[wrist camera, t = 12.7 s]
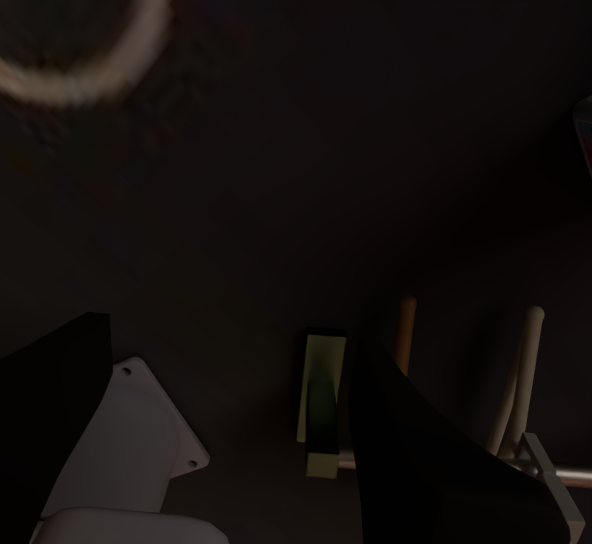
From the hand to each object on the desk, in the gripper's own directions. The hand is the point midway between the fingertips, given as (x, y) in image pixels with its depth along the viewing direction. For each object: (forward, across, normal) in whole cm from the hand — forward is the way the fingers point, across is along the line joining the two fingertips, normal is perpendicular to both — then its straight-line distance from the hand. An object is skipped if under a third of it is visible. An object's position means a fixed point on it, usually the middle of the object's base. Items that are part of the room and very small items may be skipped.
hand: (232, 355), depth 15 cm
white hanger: (+10, -13, +8) cm, 19 cm away
